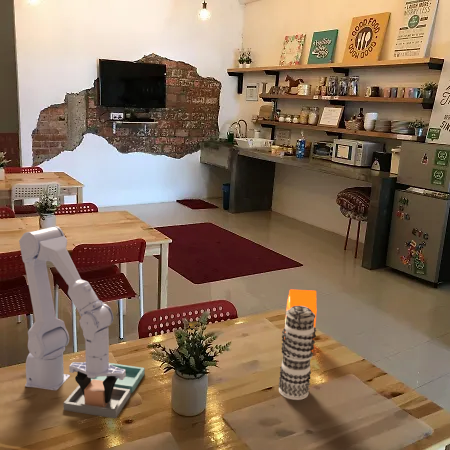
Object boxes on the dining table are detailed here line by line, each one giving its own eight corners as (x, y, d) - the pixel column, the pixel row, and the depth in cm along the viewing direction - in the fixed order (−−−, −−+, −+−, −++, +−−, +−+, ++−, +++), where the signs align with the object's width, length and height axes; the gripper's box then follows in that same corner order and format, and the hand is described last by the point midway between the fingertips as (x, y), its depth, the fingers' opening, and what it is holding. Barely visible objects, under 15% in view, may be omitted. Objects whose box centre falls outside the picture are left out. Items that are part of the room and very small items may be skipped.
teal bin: (84, 387, 139) (83, 379, 138) (99, 369, 149) (99, 361, 148) (132, 394, 137) (132, 386, 136) (144, 375, 146) (144, 367, 146)
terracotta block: (84, 406, 129) (84, 389, 128) (93, 396, 134) (92, 379, 133) (102, 409, 129) (102, 392, 127) (110, 398, 133) (110, 382, 132)
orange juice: (312, 352, 165) (318, 295, 160) (285, 350, 165) (290, 293, 160) (309, 341, 173) (314, 286, 168) (283, 339, 173) (288, 285, 168)
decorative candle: (317, 395, 140) (325, 312, 134) (290, 404, 136) (297, 318, 130) (297, 379, 148) (304, 300, 142) (271, 387, 144) (277, 305, 138)
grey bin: (63, 411, 128) (63, 402, 127) (81, 390, 138) (81, 382, 137) (115, 420, 126) (115, 411, 125) (130, 397, 135) (130, 389, 135)
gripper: (62, 355, 125) (64, 403, 129) (118, 363, 123) (118, 412, 126) (76, 342, 132) (77, 389, 135) (128, 350, 130) (128, 396, 133)
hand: (97, 399), depth 131 cm, fingers closed on terracotta block, 5 cm apart
